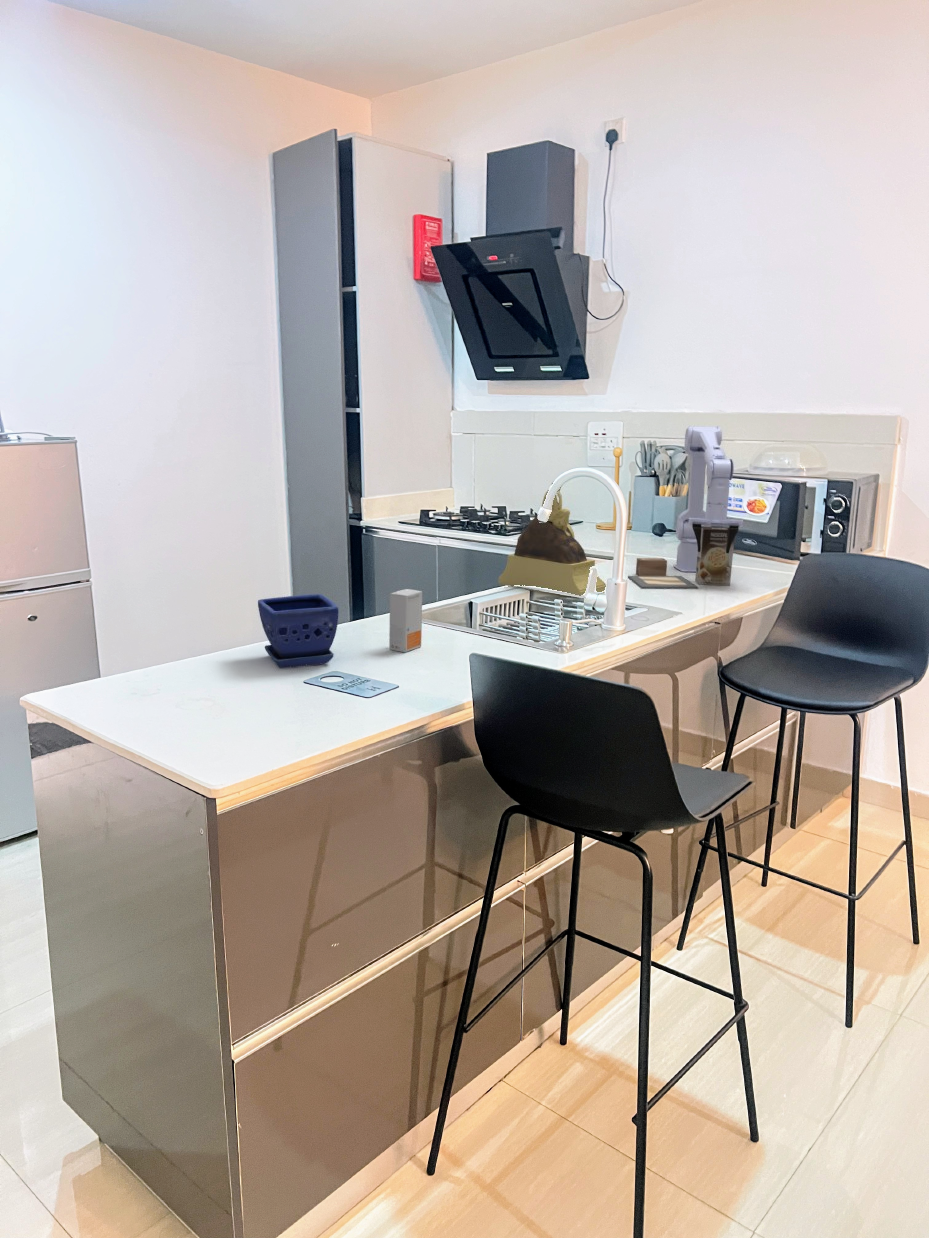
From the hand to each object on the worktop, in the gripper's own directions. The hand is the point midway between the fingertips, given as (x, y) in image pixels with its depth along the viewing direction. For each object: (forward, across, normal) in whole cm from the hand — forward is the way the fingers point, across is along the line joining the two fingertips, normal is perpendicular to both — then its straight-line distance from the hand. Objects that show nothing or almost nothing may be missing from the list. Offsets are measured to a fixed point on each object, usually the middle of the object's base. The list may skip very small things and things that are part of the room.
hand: (713, 552), depth 255 cm
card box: (+10, -17, +14) cm, 24 cm away
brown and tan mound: (+10, -43, -13) cm, 46 cm away
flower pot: (+10, -82, -100) cm, 130 cm away
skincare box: (+10, -65, -85) cm, 107 cm away
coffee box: (+10, +1, +7) cm, 13 cm away
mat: (+10, -13, +3) cm, 17 cm away
